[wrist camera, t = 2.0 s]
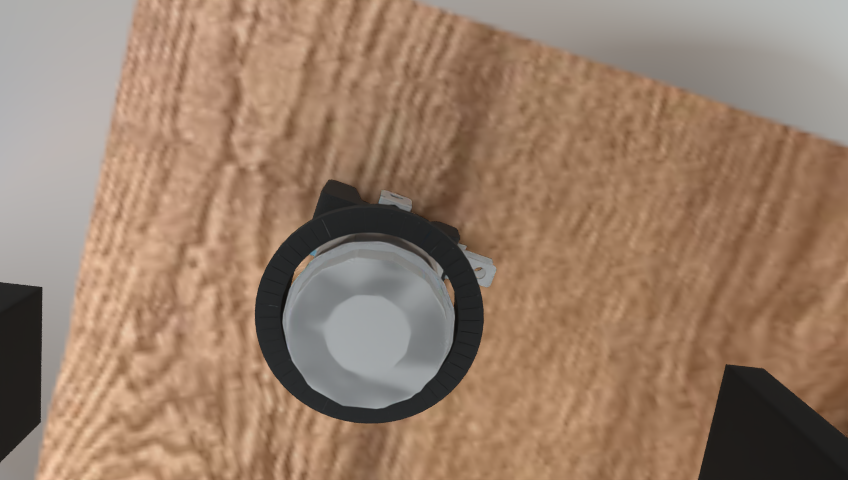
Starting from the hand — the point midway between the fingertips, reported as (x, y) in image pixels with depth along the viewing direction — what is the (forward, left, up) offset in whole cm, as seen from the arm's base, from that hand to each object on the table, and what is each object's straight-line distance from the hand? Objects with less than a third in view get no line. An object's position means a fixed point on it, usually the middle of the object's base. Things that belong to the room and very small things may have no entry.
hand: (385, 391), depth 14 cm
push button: (0, 0, -12) cm, 12 cm away
